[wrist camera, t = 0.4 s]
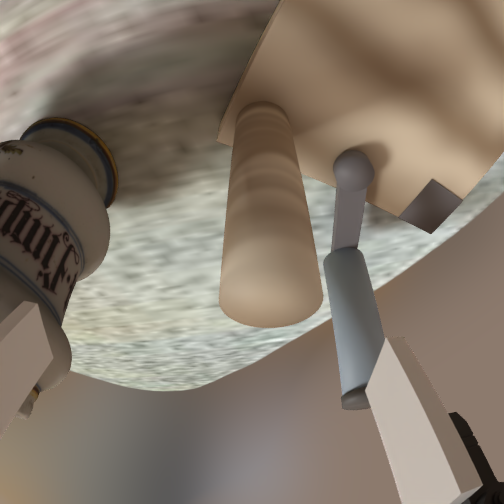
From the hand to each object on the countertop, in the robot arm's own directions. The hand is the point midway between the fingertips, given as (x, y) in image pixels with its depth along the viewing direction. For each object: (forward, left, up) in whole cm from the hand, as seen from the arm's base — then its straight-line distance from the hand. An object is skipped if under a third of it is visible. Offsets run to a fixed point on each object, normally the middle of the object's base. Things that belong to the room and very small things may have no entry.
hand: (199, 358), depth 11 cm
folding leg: (+4, +9, -12) cm, 15 cm away
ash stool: (-7, +11, -15) cm, 20 cm away
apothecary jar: (+2, -13, -15) cm, 20 cm away
